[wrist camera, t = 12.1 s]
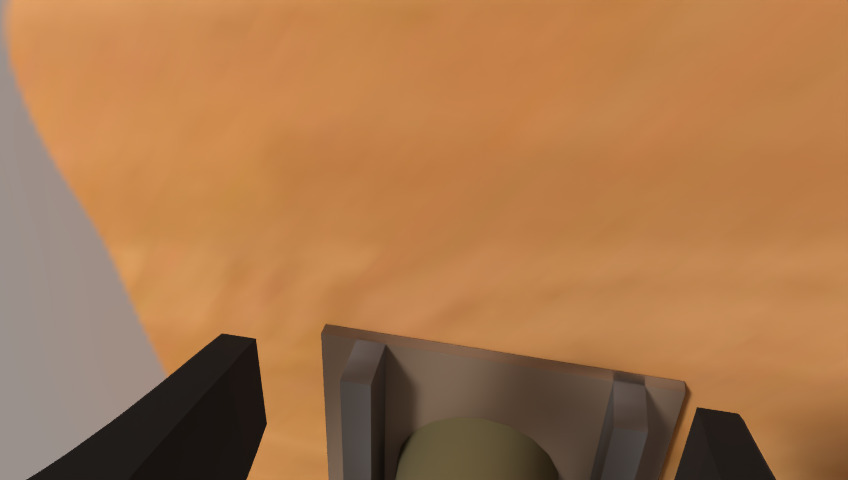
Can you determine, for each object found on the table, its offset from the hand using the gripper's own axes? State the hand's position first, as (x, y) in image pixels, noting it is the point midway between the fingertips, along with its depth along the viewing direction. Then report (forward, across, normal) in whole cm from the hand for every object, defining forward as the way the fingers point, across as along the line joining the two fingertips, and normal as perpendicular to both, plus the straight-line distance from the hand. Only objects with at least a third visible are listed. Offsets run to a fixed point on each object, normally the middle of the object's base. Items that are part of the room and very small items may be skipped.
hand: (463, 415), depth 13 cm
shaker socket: (+10, 0, +12) cm, 16 cm away
